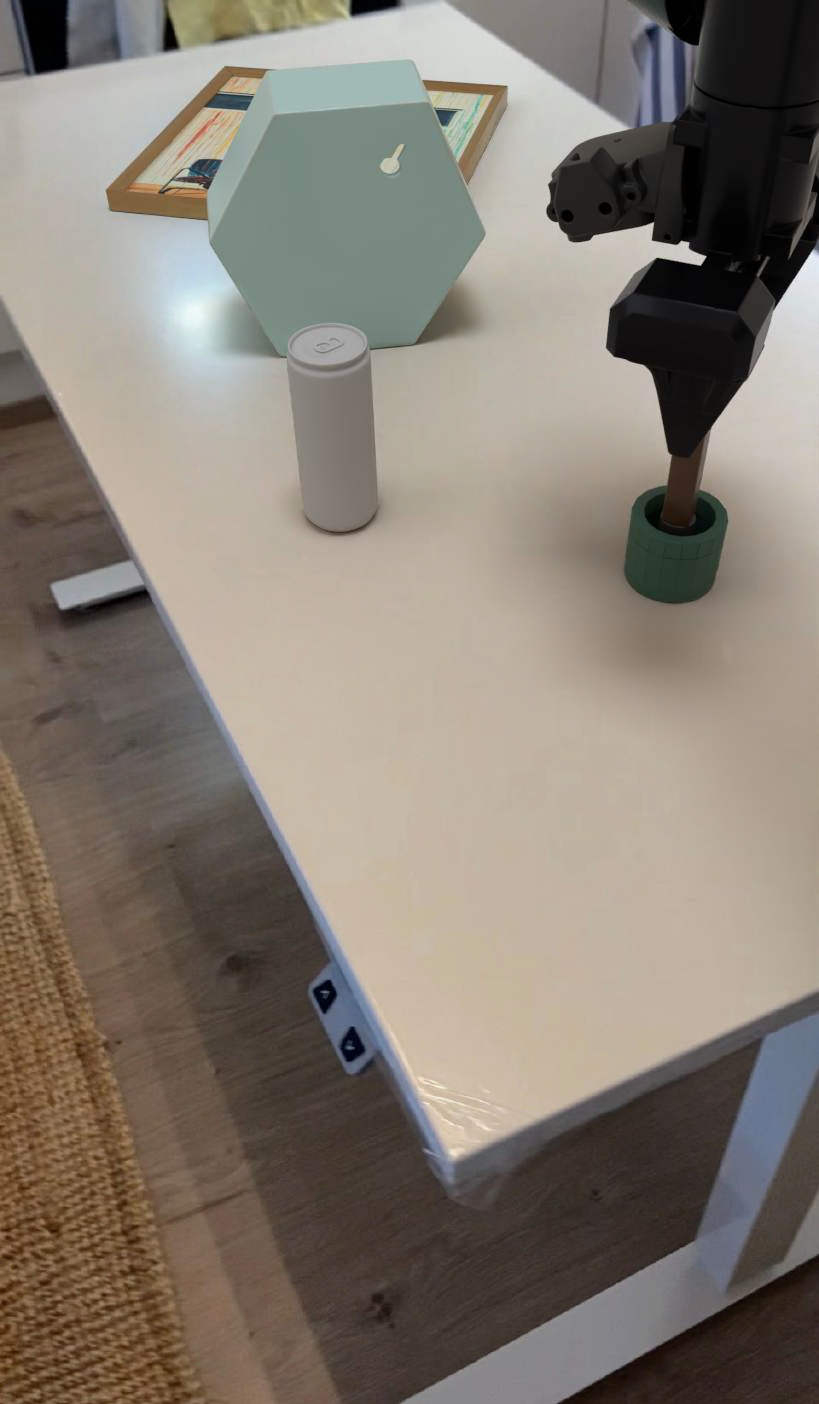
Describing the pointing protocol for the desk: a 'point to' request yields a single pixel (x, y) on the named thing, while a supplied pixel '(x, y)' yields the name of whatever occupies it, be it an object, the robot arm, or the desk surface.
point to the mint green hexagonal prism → (342, 204)
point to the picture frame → (205, 128)
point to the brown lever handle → (683, 492)
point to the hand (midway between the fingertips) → (705, 406)
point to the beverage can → (334, 424)
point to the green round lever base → (674, 549)
